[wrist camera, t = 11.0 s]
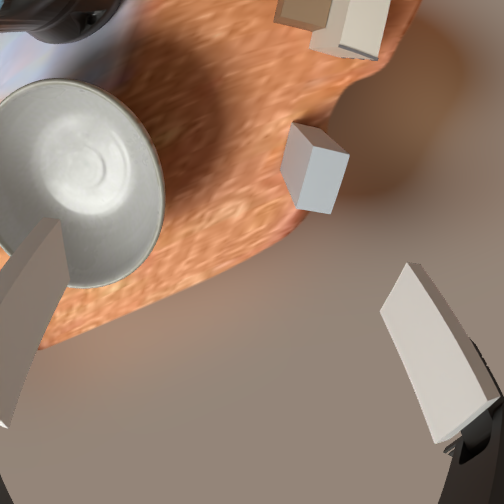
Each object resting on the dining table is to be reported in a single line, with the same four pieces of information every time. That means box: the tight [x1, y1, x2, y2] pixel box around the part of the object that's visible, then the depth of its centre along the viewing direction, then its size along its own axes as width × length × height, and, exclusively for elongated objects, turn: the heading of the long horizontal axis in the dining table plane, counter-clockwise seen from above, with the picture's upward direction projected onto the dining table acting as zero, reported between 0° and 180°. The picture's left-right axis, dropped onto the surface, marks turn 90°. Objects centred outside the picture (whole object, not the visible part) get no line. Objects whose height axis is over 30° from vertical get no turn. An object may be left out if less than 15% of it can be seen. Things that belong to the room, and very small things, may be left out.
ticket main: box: [273, 0, 391, 61], centre depth 26 cm, size 9×9×12 cm
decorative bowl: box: [0, 78, 165, 289], centre depth 35 cm, size 27×27×12 cm
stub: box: [280, 122, 350, 214], centre depth 36 cm, size 4×7×12 cm, turn 169°
